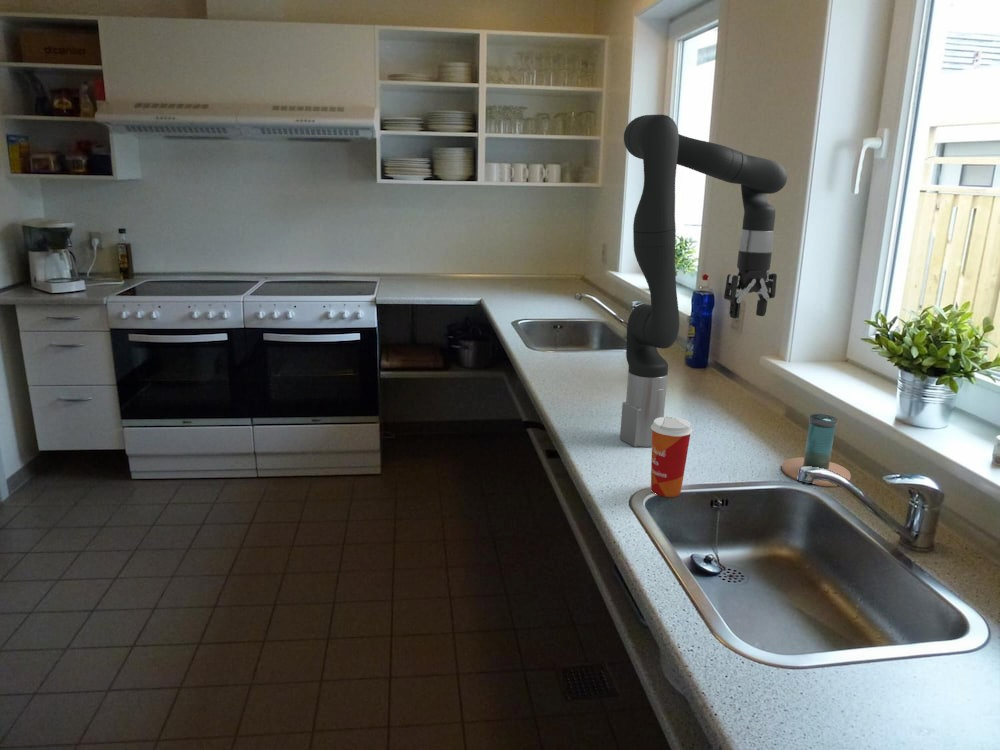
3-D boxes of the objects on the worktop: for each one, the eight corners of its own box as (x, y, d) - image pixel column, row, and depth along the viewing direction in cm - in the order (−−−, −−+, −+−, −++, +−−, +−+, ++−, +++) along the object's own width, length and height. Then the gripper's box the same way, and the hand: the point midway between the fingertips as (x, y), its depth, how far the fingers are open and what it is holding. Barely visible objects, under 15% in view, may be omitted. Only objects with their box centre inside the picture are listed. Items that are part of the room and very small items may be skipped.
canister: (817, 475, 159) (825, 423, 156) (796, 466, 164) (803, 415, 161) (834, 471, 162) (843, 419, 159) (814, 462, 167) (821, 412, 164)
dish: (819, 490, 154) (820, 486, 154) (768, 467, 166) (768, 462, 166) (864, 480, 160) (865, 475, 160) (811, 457, 172) (812, 453, 172)
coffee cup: (642, 482, 156) (648, 415, 152) (681, 483, 156) (688, 416, 152) (649, 499, 148) (655, 428, 144) (690, 500, 148) (697, 430, 144)
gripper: (744, 251, 168) (736, 321, 173) (789, 250, 175) (780, 317, 179) (721, 248, 175) (714, 315, 179) (765, 247, 181) (757, 312, 186)
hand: (747, 316), depth 179 cm, fingers open, 8 cm apart
